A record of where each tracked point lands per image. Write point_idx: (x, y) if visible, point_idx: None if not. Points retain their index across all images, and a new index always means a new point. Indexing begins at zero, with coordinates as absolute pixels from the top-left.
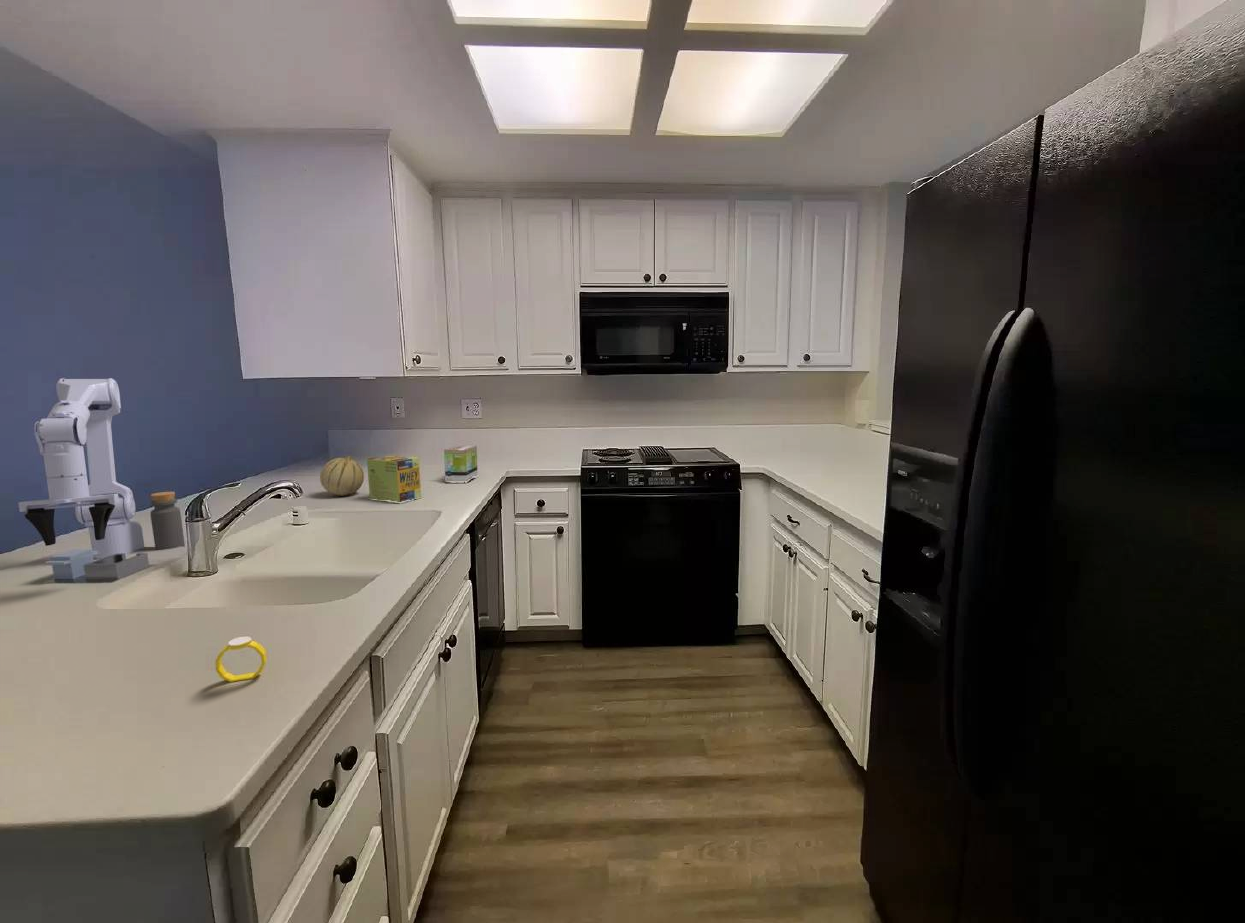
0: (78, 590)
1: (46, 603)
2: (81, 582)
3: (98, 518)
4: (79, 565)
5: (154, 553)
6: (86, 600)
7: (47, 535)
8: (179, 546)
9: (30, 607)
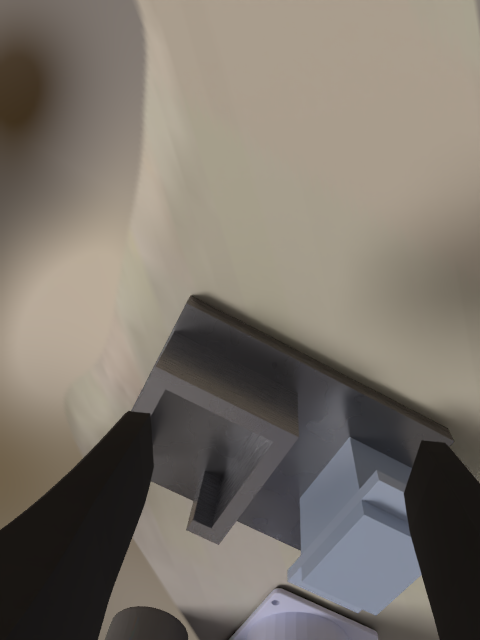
0: (306, 320)
1: (381, 196)
2: (305, 368)
3: (9, 549)
4: (335, 493)
5: (187, 620)
6: (231, 146)
7: (453, 504)
8: (112, 627)
9: (431, 169)
